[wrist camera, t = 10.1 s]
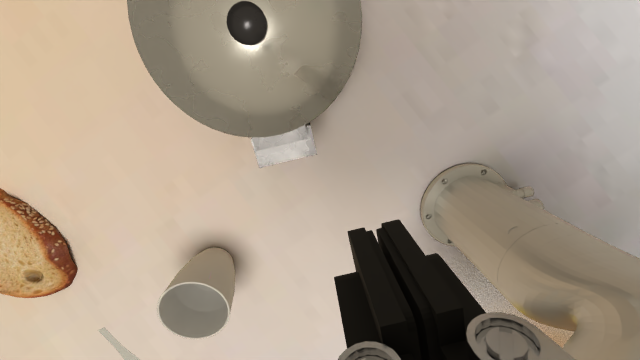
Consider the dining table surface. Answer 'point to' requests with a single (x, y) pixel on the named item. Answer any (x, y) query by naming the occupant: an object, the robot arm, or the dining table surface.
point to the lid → (249, 60)
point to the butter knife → (118, 346)
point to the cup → (199, 296)
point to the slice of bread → (31, 252)
